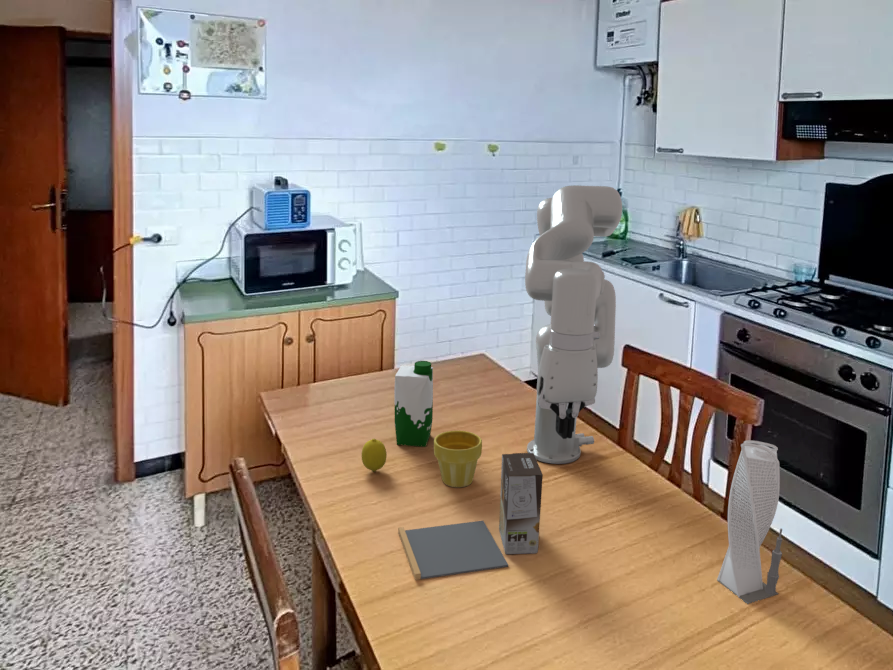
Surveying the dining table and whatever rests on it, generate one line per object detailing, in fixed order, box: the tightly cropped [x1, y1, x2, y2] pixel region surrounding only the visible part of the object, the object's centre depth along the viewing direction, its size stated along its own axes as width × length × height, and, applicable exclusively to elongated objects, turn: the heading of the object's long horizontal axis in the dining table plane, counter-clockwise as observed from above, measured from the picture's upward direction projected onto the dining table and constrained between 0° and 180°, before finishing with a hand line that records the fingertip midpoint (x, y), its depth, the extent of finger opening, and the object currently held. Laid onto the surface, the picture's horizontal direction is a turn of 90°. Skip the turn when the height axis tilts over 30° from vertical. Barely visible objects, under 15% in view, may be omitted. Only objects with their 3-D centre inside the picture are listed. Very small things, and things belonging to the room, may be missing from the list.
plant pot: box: [433, 430, 483, 488], centre depth 159 cm, size 10×10×10 cm
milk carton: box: [394, 360, 434, 448], centre depth 177 cm, size 9×9×20 cm
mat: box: [397, 520, 509, 581], centre depth 135 cm, size 17×15×1 cm
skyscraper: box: [716, 439, 783, 605], centre depth 122 cm, size 8×8×28 cm
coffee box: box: [498, 452, 544, 555], centre depth 136 cm, size 9×6×16 cm
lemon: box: [361, 438, 388, 473], centre depth 162 cm, size 6×6×8 cm
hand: (564, 435), depth 134 cm, fingers closed
